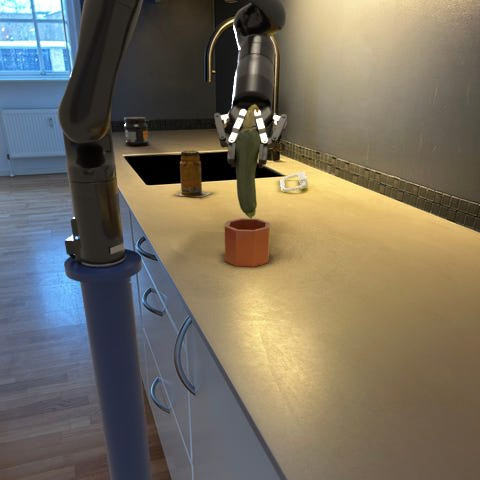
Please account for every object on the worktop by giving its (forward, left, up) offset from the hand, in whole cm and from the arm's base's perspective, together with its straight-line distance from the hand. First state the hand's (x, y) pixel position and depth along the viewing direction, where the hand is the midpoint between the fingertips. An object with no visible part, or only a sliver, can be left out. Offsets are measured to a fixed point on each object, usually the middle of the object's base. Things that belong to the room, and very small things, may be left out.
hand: (246, 164), depth 91 cm
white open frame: (+8, +68, -19) cm, 71 cm away
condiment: (-21, +55, -19) cm, 62 cm away
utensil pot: (0, +2, -18) cm, 19 cm away
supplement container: (-66, +149, -19) cm, 164 cm away
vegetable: (0, +2, -10) cm, 10 cm away
